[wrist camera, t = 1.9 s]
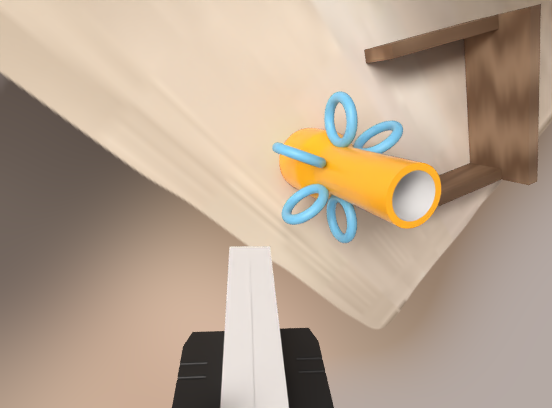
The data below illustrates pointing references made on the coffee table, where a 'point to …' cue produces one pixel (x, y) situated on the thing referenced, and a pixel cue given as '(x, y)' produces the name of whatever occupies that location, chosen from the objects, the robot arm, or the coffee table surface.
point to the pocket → (491, 96)
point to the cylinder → (355, 174)
